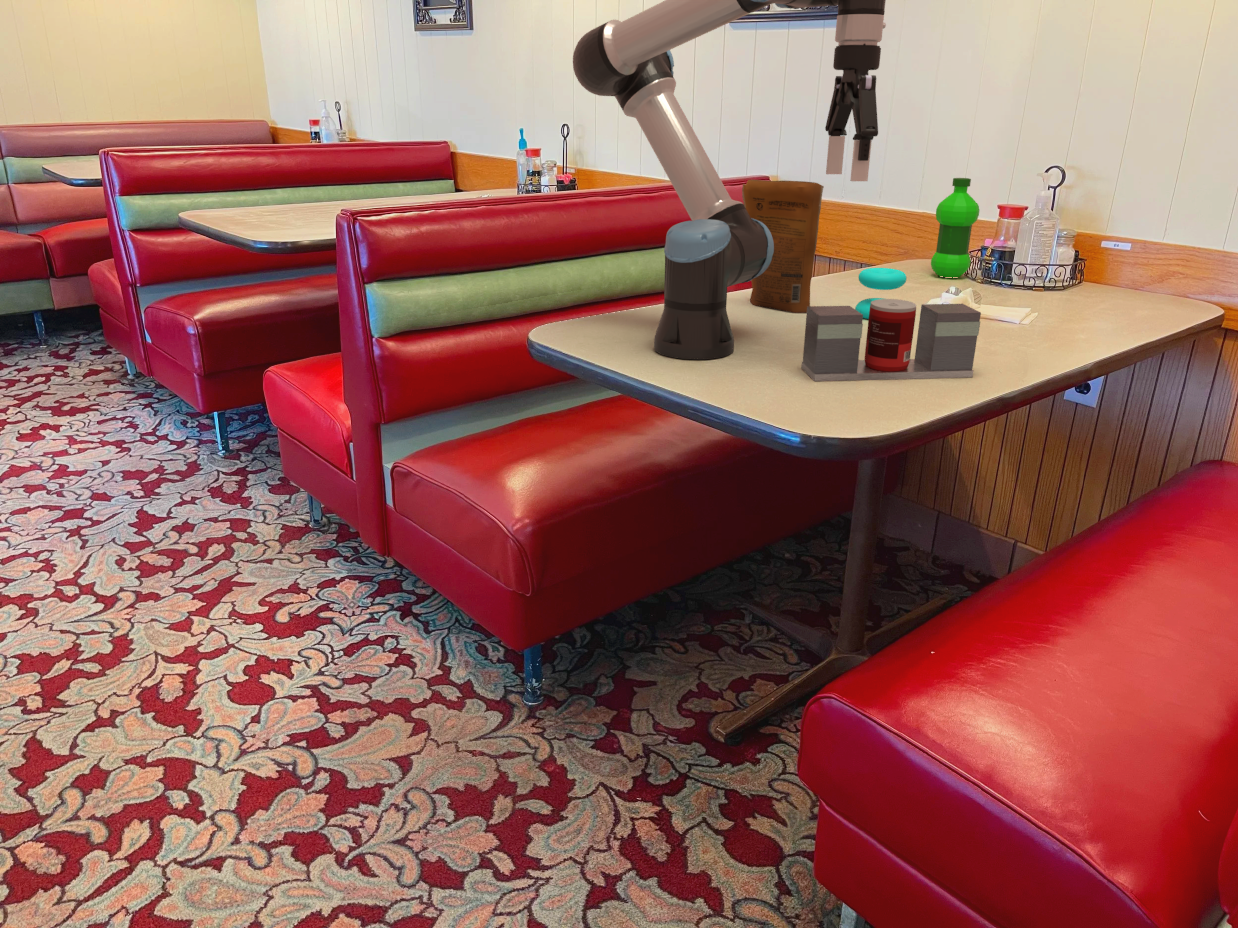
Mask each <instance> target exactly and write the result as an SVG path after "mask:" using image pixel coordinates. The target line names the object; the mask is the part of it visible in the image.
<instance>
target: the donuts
mask: <svg viewBox="0 0 1238 928" xmlns="http://www.w3.org/2000/svg"><path fill="white" fill-rule="evenodd" d="M858 281H859V283H860V284H861V285H862V286H864V287H866V288H868V289H872V290H881V291H890V290H896V289H899V288H901V287H903V286H904V285H905V284H906V282H907V274H906V273H905V272H903V271H902V270H900V269H896V268H888V267H871V268H870V267H868V268H864V269H862V270H861V271H860V273H859V274H858ZM878 299H885V298H884V297H883V298H882V297H870V298H869V297H868V298H865V299H862V300H860V301H859V302H858V303H857V304H856V306H855V308H854V309H855V310H857V311H858V312H860V313H861V314H862V315H863V319H865V320H869V311H870V305H871V302H872V301H874V300H878Z"/></svg>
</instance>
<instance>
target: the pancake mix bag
mask: <svg viewBox="0 0 1238 928" xmlns="http://www.w3.org/2000/svg"><path fill="white" fill-rule="evenodd" d="M823 191H824V185H822V184H820V183H819V182H814V181H805V180H804V181H802V180H801V181H800V180H761V179H748V180H747V181H746V184H745V183H742V190H741V193H742V201H743V202H742V203H743V204H744V206H745V208H746V210H747V212H748V213H749V215H750V217H751V218H753V219H756V220H758V221H760V222H762V223H763V224H765V225H766V226H767V228H768V229H769V231H770V232H771V235H772V238H773V242H774V252H773V255H772V260H771V263H770V265H769V266H768V268H767V269H766V270H765V271H764V272H763V273H762V274H761V275H760V276H758V277H756V278H754V279H752V280H751V281H750V282H751V288H752V290H751V293H750V299H749V302H750V304H751V305H752V306H755V307H761V308H766V309H771V310H777V311H782V312H788V313H793V314H794V313H795V314H805V313H806V314H807V306H811V282H812V277H813V269H814V262H815V261H814V260H815V255H816V250H817V242H818V234H819V233H818V232H819V227H820V226H819V224H820V215H821V208H822V199H823V198H822V197H823Z"/></svg>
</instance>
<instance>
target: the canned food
mask: <svg viewBox="0 0 1238 928" xmlns="http://www.w3.org/2000/svg"><path fill="white" fill-rule="evenodd" d="M916 313H917V304H916V303H914V302H912V301H909V300H905V299H904V300H903V299H898V298H884V299H878V300H874V301H872V302H871V305H870V311H869V319H867V320H868V321H867V332H866V341H865V342H866V343H865V350H864V360H865V364H866V366H867V367H869V368H871V369H874V370H879V371H887V372H896V371H902V370H905V369H906V368H907V367H908V365H909V362H910V359H911V352H912V344H913V337H914V331H915V330H914V329H915V325H916V324H915V322H916V315H917V314H916Z"/></svg>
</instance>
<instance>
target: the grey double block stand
mask: <svg viewBox="0 0 1238 928" xmlns="http://www.w3.org/2000/svg"><path fill="white" fill-rule="evenodd" d="M920 306H921V307H920V313H919V314H920V315H919V320H918V321H919V324H918V329H917V330H918V331H917V337H916V345H915V353H914V358H910V362H909V365H908V367H907V368H906V369H905V370H902V371H896V372H887V371H879V370H874V369H871V368H869V367H867V366H866V364H865V359H864V360H863V359H859V357H860V347H861V339H862V336H863V335H862V334H863V325H864V324H863V319H864V318H863V315H862V314H861V313H860V312H858V311H857V310H855V308H854V307H852V306H850V305H821V306H819V305H817V306H815V305H813V306H811V305H810V306H807V313H806V318H805V319H806V320H805V331H804V340H803V341H804V343H803V344H804V345H803V353H802V361H801V369H802V370H803V371H804V373H805V374H806V375H808V377H810V379H812V380H813V381H814V382H836V381H837V382H842V381H877V380H879V381H881V380H882V381H883V380H913V379H914V380H917V379H920V380H921V379H922V380H923V379H924V380H925V379H949V378H950V379H954V378H955V379H957V378H959V379H961V378H962V379H963V378H964V379H965V378H973V376H974V370H973V369H974V368H973V367H974V360H975V354H976V347H977V341H978V336H979V334H980V327H981V326H980V325H981V321H980V320H981V315H982V313H981V311H979V310H977V309H974V308H973V307H970V306H968V305H966V304H964V303H930V304H929V303H923V304H922V303H921V305H920Z"/></svg>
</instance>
